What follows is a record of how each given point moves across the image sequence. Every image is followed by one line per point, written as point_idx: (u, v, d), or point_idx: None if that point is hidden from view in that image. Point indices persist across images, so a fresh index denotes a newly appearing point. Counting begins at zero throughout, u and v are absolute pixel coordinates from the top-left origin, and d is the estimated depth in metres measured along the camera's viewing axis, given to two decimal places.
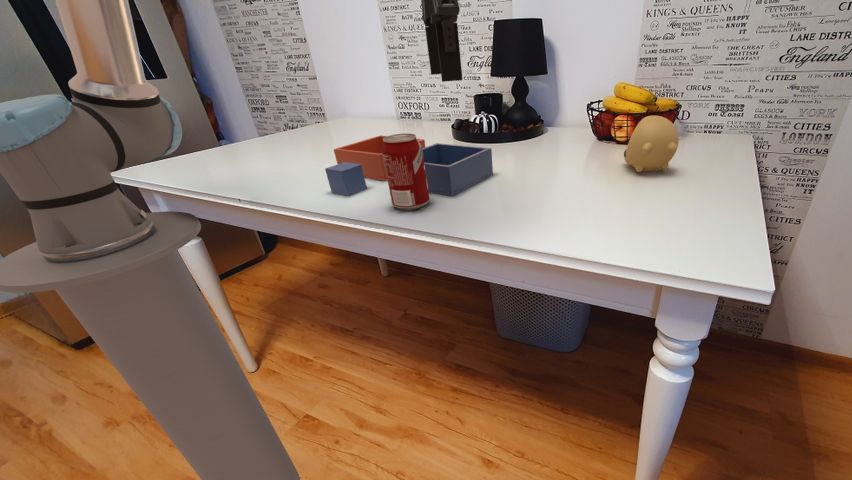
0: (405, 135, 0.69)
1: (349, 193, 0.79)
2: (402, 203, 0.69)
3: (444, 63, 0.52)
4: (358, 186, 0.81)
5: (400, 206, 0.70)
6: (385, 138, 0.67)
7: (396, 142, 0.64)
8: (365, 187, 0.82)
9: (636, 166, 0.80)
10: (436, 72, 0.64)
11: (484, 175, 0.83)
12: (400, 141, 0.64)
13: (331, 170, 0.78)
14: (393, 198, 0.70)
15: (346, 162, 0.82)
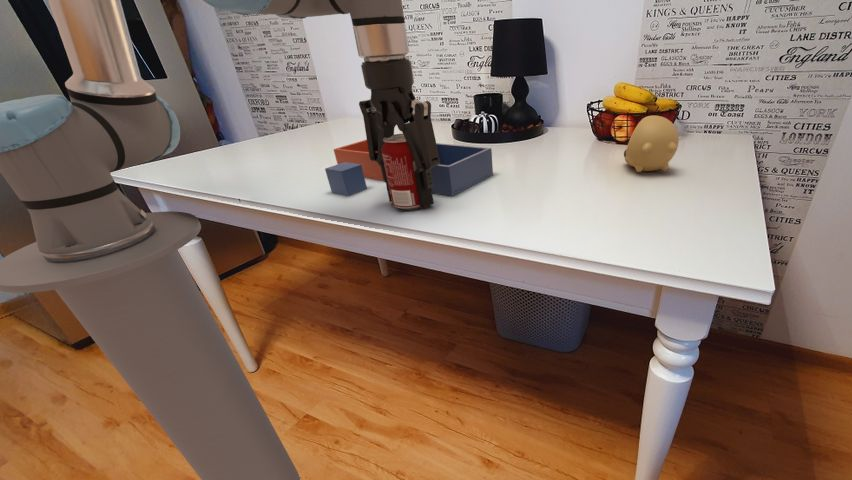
0: None
1: (349, 193, 0.79)
2: (402, 203, 0.69)
3: (423, 196, 0.69)
4: (358, 186, 0.81)
5: (400, 206, 0.70)
6: (385, 138, 0.67)
7: (396, 142, 0.64)
8: (365, 187, 0.82)
9: (636, 166, 0.80)
10: None
11: (484, 175, 0.83)
12: (400, 141, 0.64)
13: (331, 170, 0.78)
14: (393, 198, 0.70)
15: (346, 162, 0.82)
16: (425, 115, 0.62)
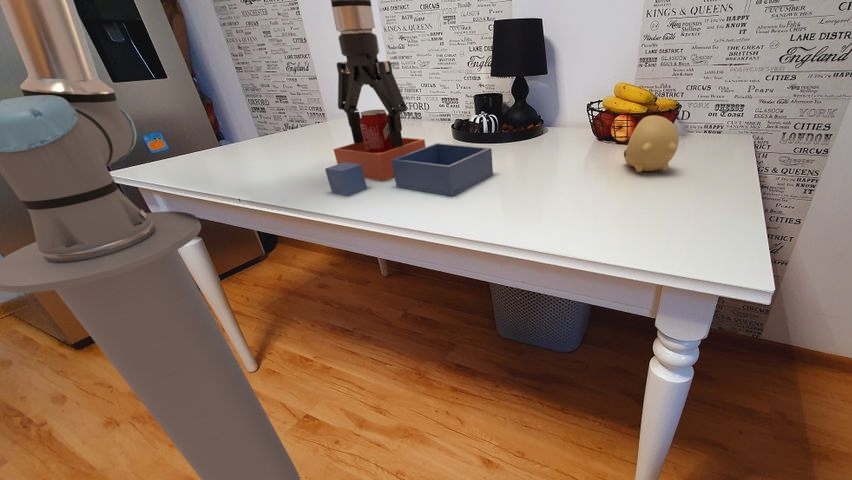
0: (378, 111, 0.91)
1: (349, 193, 0.79)
2: None
3: (394, 137, 0.87)
4: (358, 186, 0.81)
5: None
6: (362, 112, 0.89)
7: (370, 115, 0.86)
8: (365, 187, 0.82)
9: (636, 166, 0.80)
10: (358, 141, 0.94)
11: (484, 175, 0.83)
12: (373, 114, 0.86)
13: (331, 170, 0.78)
14: None
15: (346, 162, 0.82)
16: (387, 71, 0.81)
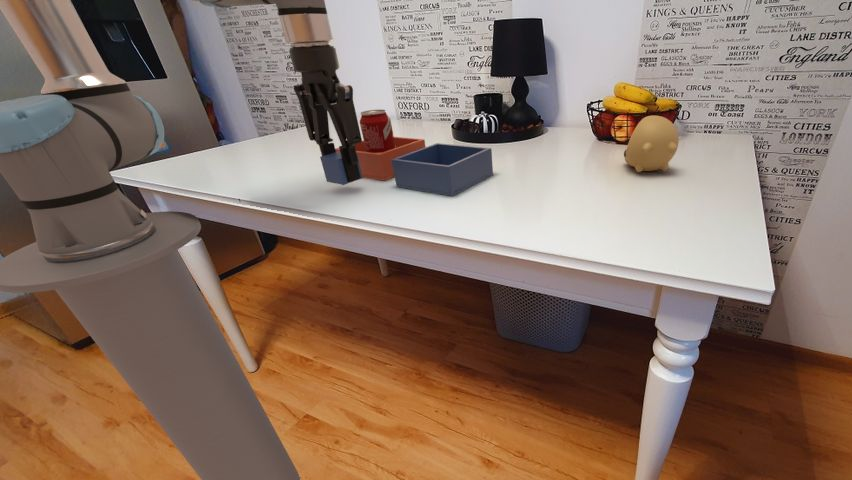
0: (378, 111, 0.91)
1: (344, 182, 0.78)
2: None
3: (349, 171, 0.77)
4: None
5: None
6: (362, 112, 0.89)
7: (370, 115, 0.86)
8: (361, 176, 0.81)
9: (636, 166, 0.80)
10: None
11: (484, 175, 0.83)
12: (373, 114, 0.86)
13: (326, 158, 0.77)
14: None
15: None
16: (347, 98, 0.70)
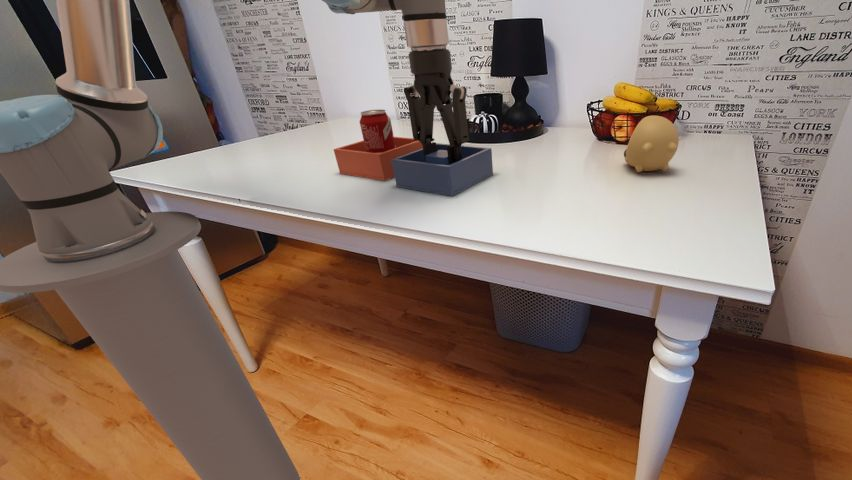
0: (378, 111, 0.91)
1: None
2: None
3: None
4: None
5: None
6: (362, 112, 0.89)
7: (370, 115, 0.86)
8: None
9: (636, 166, 0.80)
10: None
11: (484, 175, 0.83)
12: (373, 114, 0.86)
13: (432, 157, 0.80)
14: None
15: (442, 150, 0.84)
16: (461, 98, 0.73)
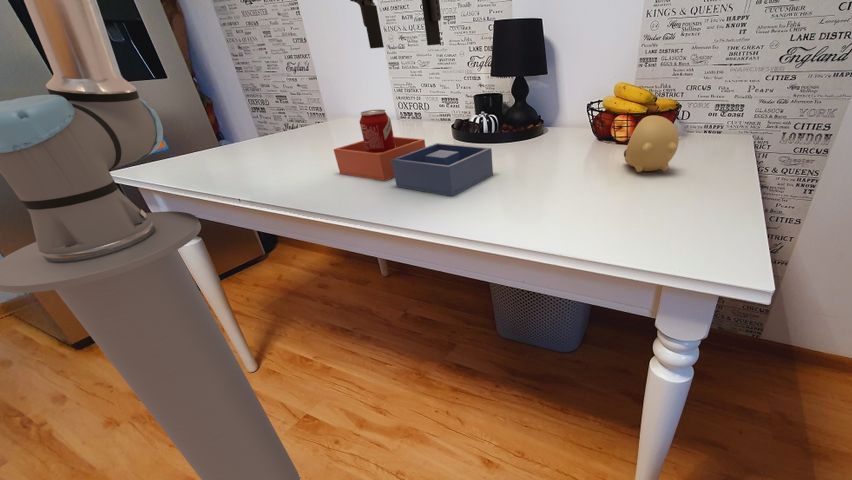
0: (378, 111, 0.91)
1: None
2: None
3: (430, 30, 0.65)
4: None
5: None
6: (362, 112, 0.89)
7: (370, 115, 0.86)
8: None
9: (636, 166, 0.80)
10: (376, 46, 0.73)
11: (484, 175, 0.83)
12: (373, 114, 0.86)
13: (432, 157, 0.80)
14: None
15: (442, 150, 0.84)
16: None
